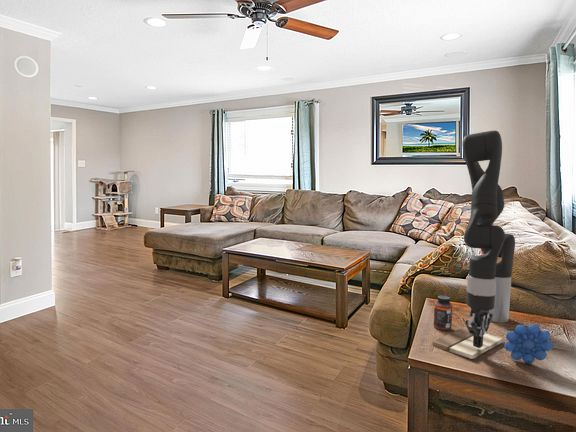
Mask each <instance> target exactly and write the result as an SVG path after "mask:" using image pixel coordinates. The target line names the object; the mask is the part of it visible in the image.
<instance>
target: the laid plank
mask: <svg viewBox="0 0 576 432" xmlns="http://www.w3.org/2000/svg"><path fill="white" fill-rule="evenodd" d="M472 336H474V335H473V334H470V333H469V331H468V328H467V326H463V327H460V328H458V329H456V330H454V331H452V332H450V333H447V334H446V335H443V336H441V337H439V338H437V339H434V340H433V341H432V346H434V347H436V348H439V349H442V350H445V351H447V352H450V347H452V346H454V345H456V344H458V343H460V342H462V341H464V340H467V339H468V338H470V337H472Z"/></svg>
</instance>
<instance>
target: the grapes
mask: <svg viewBox="0 0 576 432" xmlns="http://www.w3.org/2000/svg"><path fill="white" fill-rule="evenodd" d="M551 336H552V335H551V333H550V332H549V331H548V330H541V327H540V326H539V324H536V323H535V324H534V323H532V324H529V325H528V327H527V326H526V325H525V324H518V325H516V326H515V328H514V331H509V332H508V331H507V333H506V335H505V339H506V340H507V342H505V344H504V346H503V347H504V349H505V350H506V352H510V358H511V359H512V360H514V361H520V360H522V361H523V363H525V364H527V365H528V364H533V363H534V362H535V359H536V360H537V361H543V360H544V361H545V359H546V358H547V357H548V354H547V352H551V351H552V350H553V348H554V344H553V343H552V341H549V339H550V338H551Z"/></svg>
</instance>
